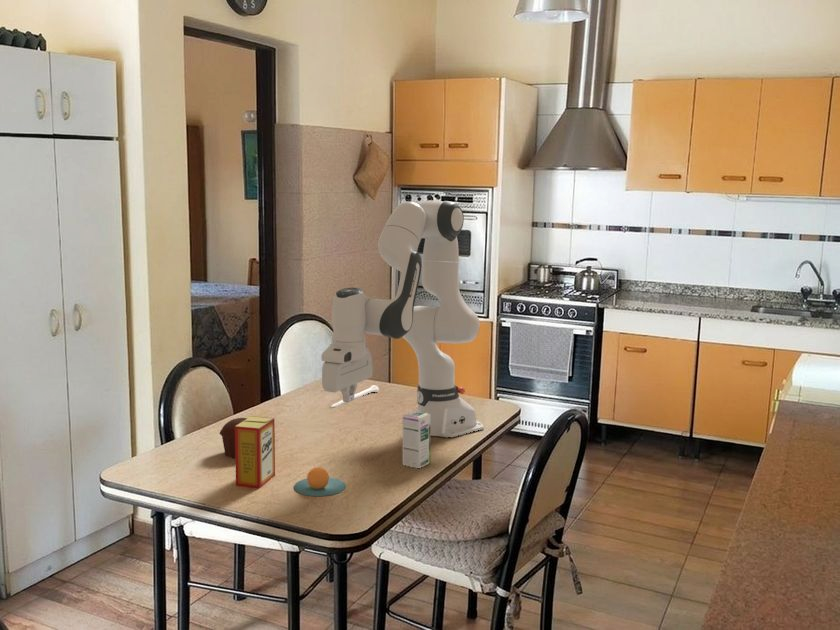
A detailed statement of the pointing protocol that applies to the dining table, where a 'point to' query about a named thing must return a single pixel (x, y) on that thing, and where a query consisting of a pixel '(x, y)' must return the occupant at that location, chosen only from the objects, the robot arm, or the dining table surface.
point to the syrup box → (416, 439)
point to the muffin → (230, 436)
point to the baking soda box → (255, 451)
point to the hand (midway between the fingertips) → (348, 401)
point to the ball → (317, 478)
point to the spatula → (359, 395)
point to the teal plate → (330, 489)
